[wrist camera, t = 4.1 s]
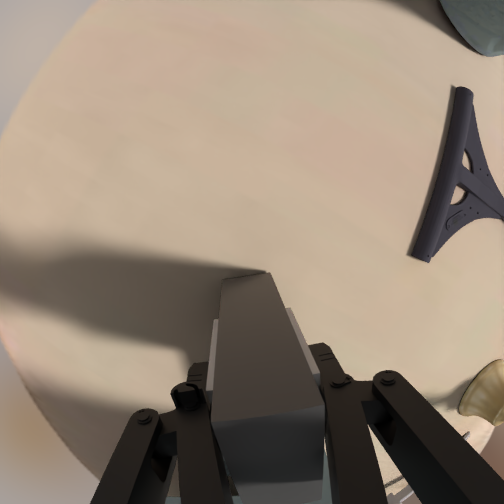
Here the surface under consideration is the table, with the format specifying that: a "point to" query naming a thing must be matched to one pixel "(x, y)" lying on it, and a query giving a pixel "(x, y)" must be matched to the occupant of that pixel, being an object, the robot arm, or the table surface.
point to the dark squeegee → (459, 183)
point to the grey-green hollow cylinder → (478, 23)
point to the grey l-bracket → (265, 398)
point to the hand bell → (486, 395)
